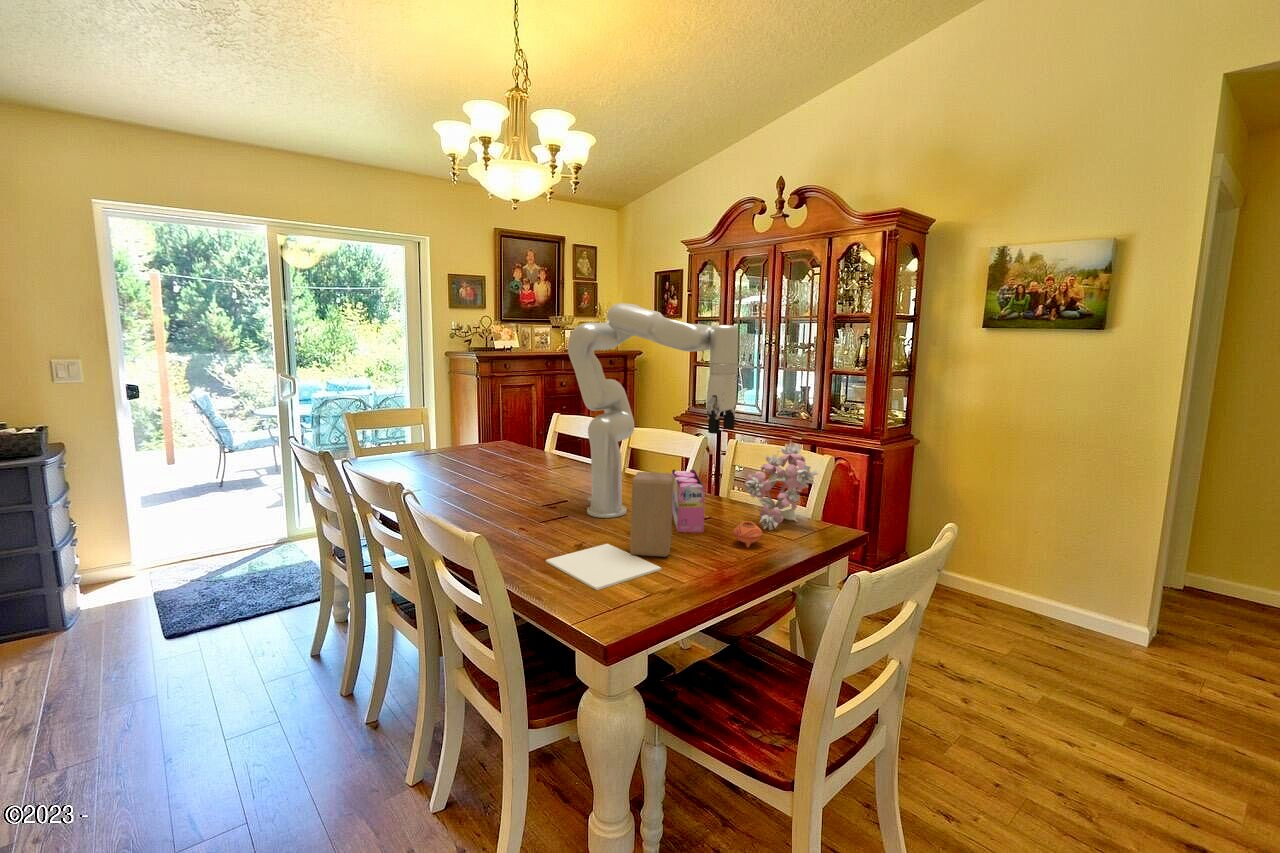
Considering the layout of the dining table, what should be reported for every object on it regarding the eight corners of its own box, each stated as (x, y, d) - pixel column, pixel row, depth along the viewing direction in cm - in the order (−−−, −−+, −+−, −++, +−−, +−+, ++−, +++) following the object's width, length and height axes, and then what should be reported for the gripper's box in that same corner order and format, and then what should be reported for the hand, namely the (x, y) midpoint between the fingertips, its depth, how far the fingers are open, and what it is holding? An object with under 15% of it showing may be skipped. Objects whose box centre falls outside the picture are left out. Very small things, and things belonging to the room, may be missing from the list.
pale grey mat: (545, 562, 153) (545, 559, 152) (607, 545, 164) (607, 543, 164) (596, 590, 136) (596, 587, 136) (661, 569, 148) (661, 567, 147)
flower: (719, 509, 193) (733, 445, 179) (779, 494, 202) (796, 433, 188) (753, 553, 178) (771, 488, 164) (816, 536, 187) (838, 473, 173)
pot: (750, 536, 171) (755, 515, 169) (765, 551, 164) (770, 529, 162) (725, 538, 168) (729, 517, 166) (739, 554, 162) (743, 532, 159)
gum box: (670, 509, 199) (670, 468, 197) (694, 509, 199) (695, 468, 197) (677, 533, 175) (677, 486, 173) (704, 532, 176) (705, 486, 173)
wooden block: (670, 546, 164) (673, 472, 162) (668, 558, 154) (672, 480, 152) (633, 543, 165) (636, 470, 163) (629, 555, 155) (632, 478, 153)
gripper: (723, 368, 179) (722, 426, 182) (696, 371, 165) (695, 433, 167) (748, 369, 175) (745, 428, 178) (722, 372, 161) (720, 436, 163)
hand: (721, 430), depth 172 cm, fingers open, 9 cm apart
